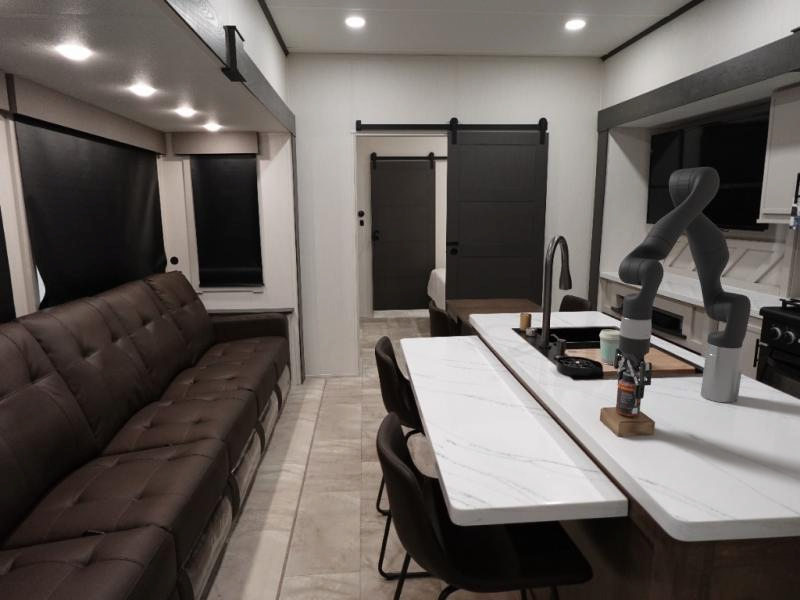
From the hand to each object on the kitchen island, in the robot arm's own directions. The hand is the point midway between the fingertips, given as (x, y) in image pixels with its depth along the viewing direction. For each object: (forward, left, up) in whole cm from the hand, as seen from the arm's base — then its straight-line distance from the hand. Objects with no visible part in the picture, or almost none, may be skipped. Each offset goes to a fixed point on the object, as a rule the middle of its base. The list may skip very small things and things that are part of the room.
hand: (629, 392), depth 143 cm
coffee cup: (-23, -54, -10) cm, 59 cm away
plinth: (0, 0, -10) cm, 10 cm away
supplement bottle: (0, 0, -6) cm, 6 cm away
